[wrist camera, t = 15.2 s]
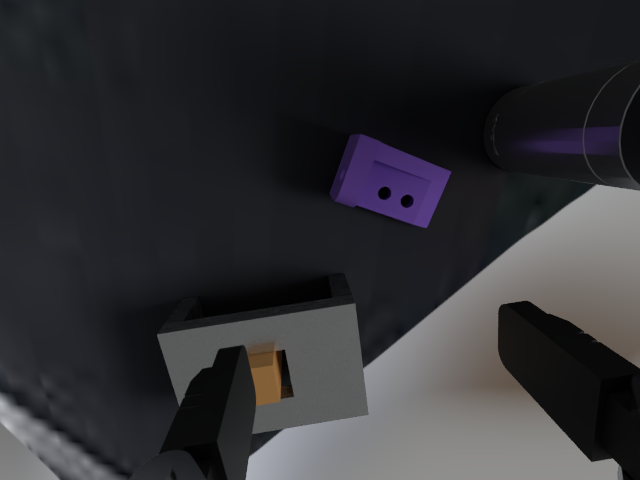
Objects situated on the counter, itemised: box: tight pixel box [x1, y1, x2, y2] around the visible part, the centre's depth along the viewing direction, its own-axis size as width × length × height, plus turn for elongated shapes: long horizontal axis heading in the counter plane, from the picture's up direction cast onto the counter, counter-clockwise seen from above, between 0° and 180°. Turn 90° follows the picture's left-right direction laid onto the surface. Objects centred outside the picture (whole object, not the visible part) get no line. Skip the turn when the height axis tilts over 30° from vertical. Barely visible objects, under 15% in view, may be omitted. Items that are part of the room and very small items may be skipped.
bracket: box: [329, 134, 451, 228], centre depth 37 cm, size 12×7×7 cm, turn 71°
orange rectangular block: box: [248, 350, 282, 406], centre depth 39 cm, size 3×4×10 cm, turn 7°
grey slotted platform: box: [157, 274, 368, 434], centre depth 40 cm, size 20×14×8 cm
